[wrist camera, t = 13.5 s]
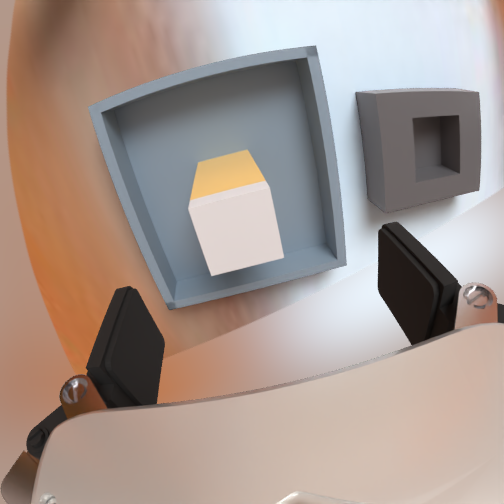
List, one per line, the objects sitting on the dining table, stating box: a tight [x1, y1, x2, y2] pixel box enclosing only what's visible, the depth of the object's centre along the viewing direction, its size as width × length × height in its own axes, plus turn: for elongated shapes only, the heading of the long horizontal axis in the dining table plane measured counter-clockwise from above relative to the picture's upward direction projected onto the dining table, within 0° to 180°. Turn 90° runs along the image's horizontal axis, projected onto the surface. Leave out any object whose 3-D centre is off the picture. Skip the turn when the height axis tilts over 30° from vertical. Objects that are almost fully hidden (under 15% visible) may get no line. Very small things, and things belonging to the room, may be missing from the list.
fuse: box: [188, 150, 284, 276], centre depth 20 cm, size 4×4×10 cm
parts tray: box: [88, 46, 347, 310], centre depth 23 cm, size 16×18×4 cm
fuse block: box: [356, 88, 481, 213], centre depth 23 cm, size 12×10×4 cm
